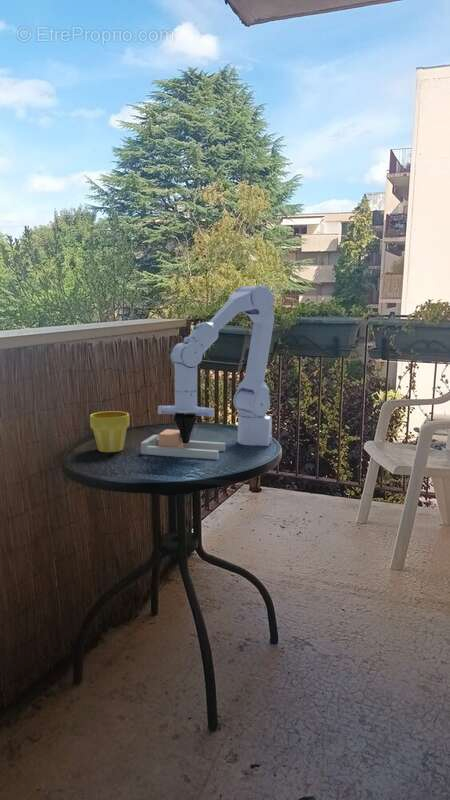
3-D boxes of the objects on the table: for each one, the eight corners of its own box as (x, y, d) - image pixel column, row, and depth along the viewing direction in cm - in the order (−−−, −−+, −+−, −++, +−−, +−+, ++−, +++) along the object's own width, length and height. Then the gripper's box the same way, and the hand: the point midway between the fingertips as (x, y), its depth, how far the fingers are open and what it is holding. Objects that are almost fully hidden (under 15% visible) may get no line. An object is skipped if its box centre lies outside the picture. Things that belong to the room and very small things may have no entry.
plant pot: (88, 446, 147) (87, 411, 145) (125, 443, 151) (125, 409, 149) (93, 456, 137) (92, 418, 136) (133, 452, 141) (132, 416, 139)
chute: (227, 451, 143) (227, 437, 143) (215, 466, 130) (215, 450, 129) (156, 446, 147) (156, 432, 147) (137, 460, 134) (137, 444, 133)
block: (184, 448, 142) (184, 430, 141) (177, 454, 136) (177, 435, 135) (166, 447, 143) (166, 429, 142) (158, 453, 137) (158, 434, 136)
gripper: (153, 391, 133) (154, 444, 136) (209, 394, 130) (209, 448, 133) (162, 387, 140) (163, 438, 142) (216, 390, 137) (215, 441, 139)
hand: (185, 442), depth 138 cm, fingers closed
